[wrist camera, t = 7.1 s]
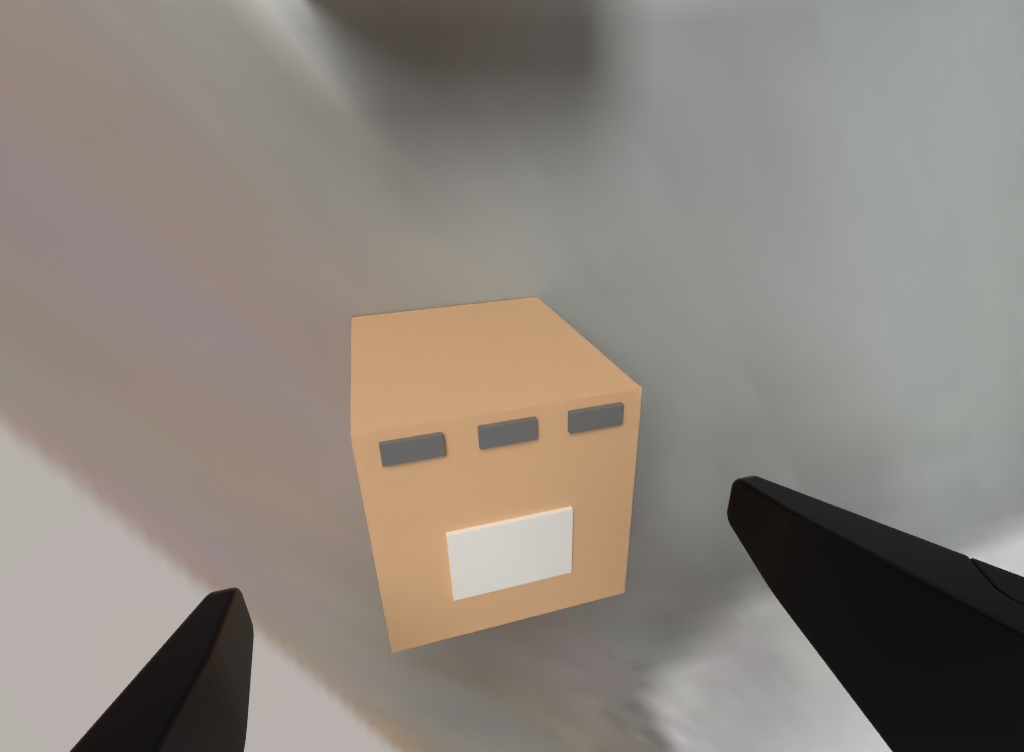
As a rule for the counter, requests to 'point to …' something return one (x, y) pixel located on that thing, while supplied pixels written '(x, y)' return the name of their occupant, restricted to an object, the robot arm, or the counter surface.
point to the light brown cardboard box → (490, 465)
